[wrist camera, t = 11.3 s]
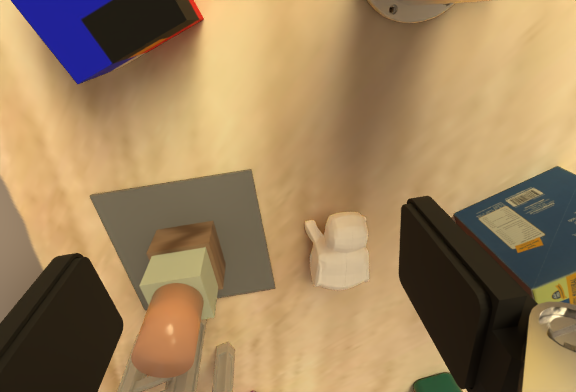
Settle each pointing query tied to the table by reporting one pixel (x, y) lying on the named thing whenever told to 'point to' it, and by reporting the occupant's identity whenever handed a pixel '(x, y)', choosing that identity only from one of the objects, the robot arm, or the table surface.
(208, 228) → the tower base
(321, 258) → the cream shape with stub
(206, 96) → the table surface
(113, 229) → the rubber mat
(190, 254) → the tower top
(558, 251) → the protein box
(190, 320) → the peach egg shape
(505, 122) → the table surface
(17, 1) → the puzzle toy
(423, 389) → the pitcher
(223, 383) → the stool
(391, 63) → the table surface
